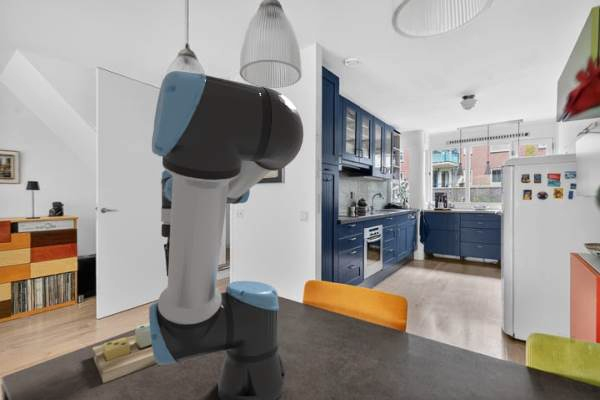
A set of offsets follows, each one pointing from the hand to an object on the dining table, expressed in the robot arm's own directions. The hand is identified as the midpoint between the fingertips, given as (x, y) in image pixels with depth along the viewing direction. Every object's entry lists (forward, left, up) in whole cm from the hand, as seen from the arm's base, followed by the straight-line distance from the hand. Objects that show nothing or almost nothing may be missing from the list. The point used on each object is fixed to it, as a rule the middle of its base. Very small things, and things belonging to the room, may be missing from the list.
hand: (175, 302), depth 85 cm
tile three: (0, +15, -11) cm, 19 cm away
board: (0, +8, -12) cm, 14 cm away
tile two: (0, +8, -9) cm, 12 cm away
